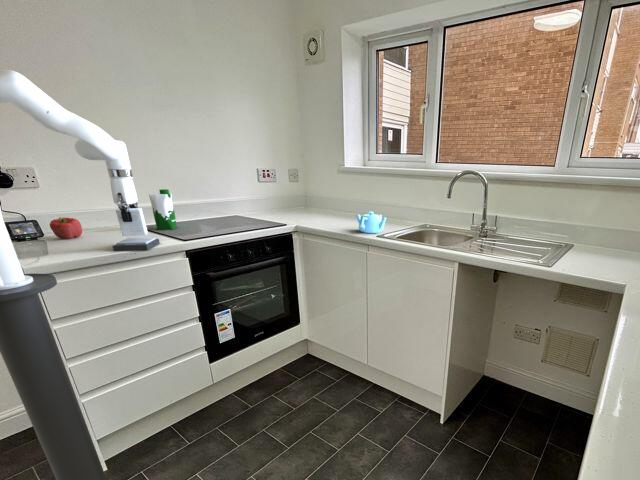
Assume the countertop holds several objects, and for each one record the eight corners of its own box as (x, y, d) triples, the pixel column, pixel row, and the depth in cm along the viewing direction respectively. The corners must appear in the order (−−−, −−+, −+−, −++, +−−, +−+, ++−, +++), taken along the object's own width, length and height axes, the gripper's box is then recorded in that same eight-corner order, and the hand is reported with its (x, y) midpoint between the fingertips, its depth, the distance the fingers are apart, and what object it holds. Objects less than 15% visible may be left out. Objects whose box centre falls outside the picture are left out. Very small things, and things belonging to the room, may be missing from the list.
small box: (148, 232, 150) (142, 207, 146) (145, 235, 145) (139, 209, 142) (125, 233, 147) (118, 208, 143) (122, 236, 142) (115, 210, 138)
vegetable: (81, 239, 156) (75, 217, 153) (50, 241, 151) (43, 218, 148) (86, 235, 165) (80, 213, 161) (57, 236, 160) (50, 214, 156)
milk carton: (173, 230, 184) (165, 190, 176) (154, 230, 181) (145, 190, 174) (179, 227, 191) (172, 189, 184) (160, 227, 189) (152, 188, 182)
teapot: (356, 229, 205) (355, 210, 201) (381, 228, 208) (381, 210, 204) (359, 233, 191) (359, 213, 187) (386, 233, 194) (386, 213, 190)
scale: (147, 250, 143) (146, 243, 142) (113, 251, 140) (111, 243, 139) (159, 243, 155) (158, 237, 154) (128, 244, 152) (127, 237, 151)
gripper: (120, 173, 144) (131, 217, 151) (97, 175, 129) (110, 224, 135) (141, 173, 146) (150, 217, 153) (121, 175, 131) (133, 223, 137)
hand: (131, 220), depth 144 cm, fingers closed on small box, 6 cm apart
